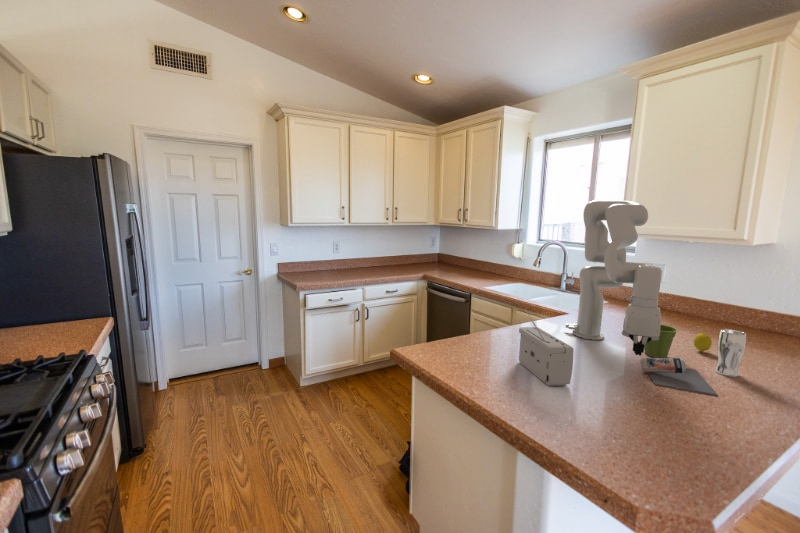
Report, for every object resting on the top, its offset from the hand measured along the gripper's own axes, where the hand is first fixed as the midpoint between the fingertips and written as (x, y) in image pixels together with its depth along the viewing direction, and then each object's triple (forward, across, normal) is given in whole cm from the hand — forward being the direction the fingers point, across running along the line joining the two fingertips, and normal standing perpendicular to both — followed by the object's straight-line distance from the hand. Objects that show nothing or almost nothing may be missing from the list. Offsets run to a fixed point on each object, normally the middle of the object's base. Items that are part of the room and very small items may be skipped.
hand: (637, 353), depth 125 cm
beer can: (+4, +1, 0) cm, 4 cm away
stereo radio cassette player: (+6, -30, -18) cm, 35 cm away
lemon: (+6, +28, +35) cm, 45 cm away
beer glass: (+6, +29, +13) cm, 33 cm away
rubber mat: (+6, +12, 0) cm, 13 cm away
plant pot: (+6, +10, +22) cm, 25 cm away
